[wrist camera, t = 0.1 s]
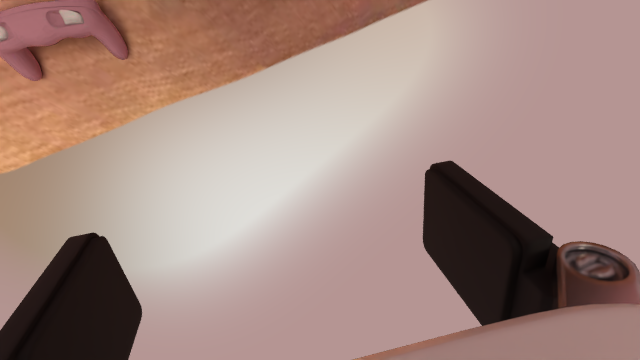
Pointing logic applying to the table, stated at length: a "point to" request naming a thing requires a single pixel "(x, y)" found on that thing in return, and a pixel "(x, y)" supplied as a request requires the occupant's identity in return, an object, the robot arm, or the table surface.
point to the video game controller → (53, 31)
